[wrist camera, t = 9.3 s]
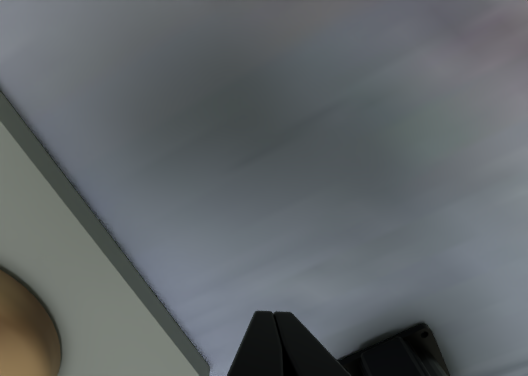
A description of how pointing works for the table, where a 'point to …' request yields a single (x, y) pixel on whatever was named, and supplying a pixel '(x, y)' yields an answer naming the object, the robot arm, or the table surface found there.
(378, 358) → the robot arm
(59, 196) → the slate base
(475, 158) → the table surface
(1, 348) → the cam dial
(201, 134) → the table surface
